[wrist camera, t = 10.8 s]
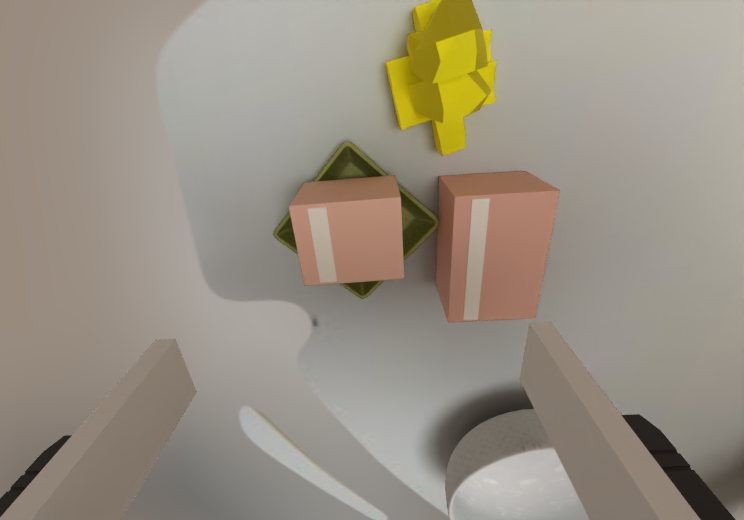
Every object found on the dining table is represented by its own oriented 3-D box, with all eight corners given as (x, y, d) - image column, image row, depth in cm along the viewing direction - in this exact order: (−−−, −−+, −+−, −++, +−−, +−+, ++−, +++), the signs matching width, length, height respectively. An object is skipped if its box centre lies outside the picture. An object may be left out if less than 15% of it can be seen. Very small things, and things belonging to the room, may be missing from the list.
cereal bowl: (616, 381, 34) (674, 450, 27) (571, 482, 41) (607, 554, 35) (443, 382, 33) (460, 450, 27) (429, 483, 41) (440, 555, 35)
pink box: (398, 244, 25) (404, 279, 20) (316, 250, 25) (304, 286, 20) (394, 175, 23) (400, 197, 18) (304, 182, 23) (288, 206, 18)
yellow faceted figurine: (405, 158, 24) (420, 187, 17) (376, 23, 20) (379, -9, 13) (490, 134, 23) (542, 155, 16) (475, -9, 20) (533, -61, 13)
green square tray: (348, 134, 23) (346, 138, 22) (438, 213, 26) (443, 223, 24) (277, 224, 26) (270, 235, 25) (364, 287, 29) (363, 301, 27)
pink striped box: (508, 287, 28) (534, 325, 24) (435, 291, 29) (448, 330, 24) (524, 170, 24) (560, 190, 20) (439, 176, 24) (455, 197, 20)
